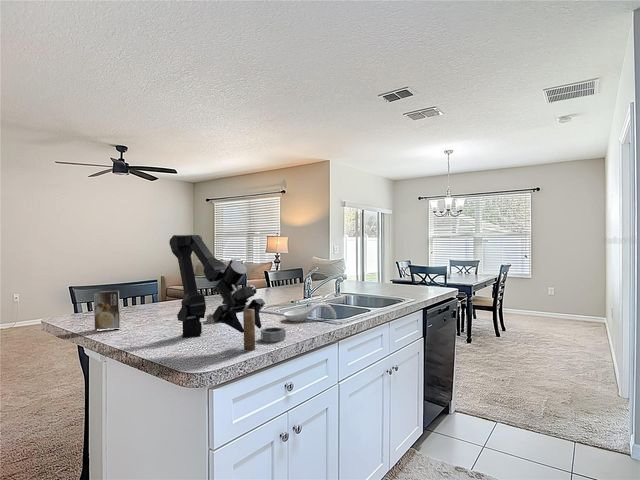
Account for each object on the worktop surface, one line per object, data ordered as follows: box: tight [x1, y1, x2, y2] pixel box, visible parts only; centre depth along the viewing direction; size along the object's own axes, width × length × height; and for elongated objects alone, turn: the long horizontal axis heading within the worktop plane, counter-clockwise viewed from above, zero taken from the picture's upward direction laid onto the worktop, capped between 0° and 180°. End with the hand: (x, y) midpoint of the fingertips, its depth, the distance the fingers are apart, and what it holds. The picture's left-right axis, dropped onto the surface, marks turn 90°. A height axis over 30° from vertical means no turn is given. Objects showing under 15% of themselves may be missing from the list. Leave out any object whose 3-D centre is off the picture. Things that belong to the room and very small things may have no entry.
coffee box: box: [93, 289, 121, 331], centre depth 158 cm, size 9×6×16 cm
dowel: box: [242, 309, 256, 352], centre depth 124 cm, size 4×4×13 cm
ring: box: [260, 326, 287, 343], centre depth 137 cm, size 8×8×3 cm
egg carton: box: [205, 313, 216, 324], centre depth 172 cm, size 11×8×4 cm
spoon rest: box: [283, 302, 337, 323], centre depth 171 cm, size 24×12×7 cm, turn 99°
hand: (252, 329), depth 123 cm, fingers open, 7 cm apart
